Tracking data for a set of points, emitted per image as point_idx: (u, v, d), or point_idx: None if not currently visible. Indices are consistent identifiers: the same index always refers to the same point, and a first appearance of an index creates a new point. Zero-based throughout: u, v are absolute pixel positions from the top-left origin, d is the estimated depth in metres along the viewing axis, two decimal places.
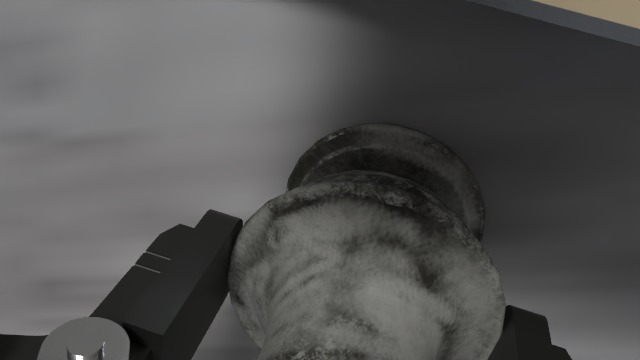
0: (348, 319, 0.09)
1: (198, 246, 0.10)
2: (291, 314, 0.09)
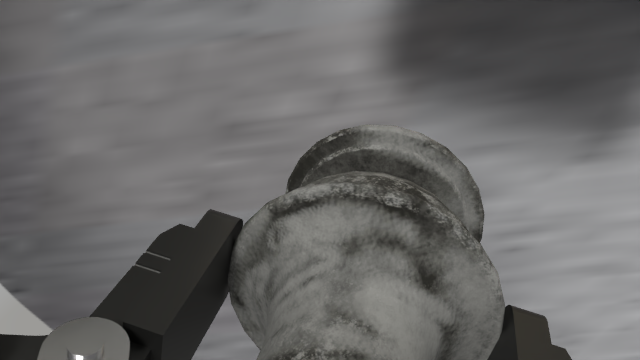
0: (347, 321, 0.09)
1: (198, 246, 0.10)
2: (291, 315, 0.09)
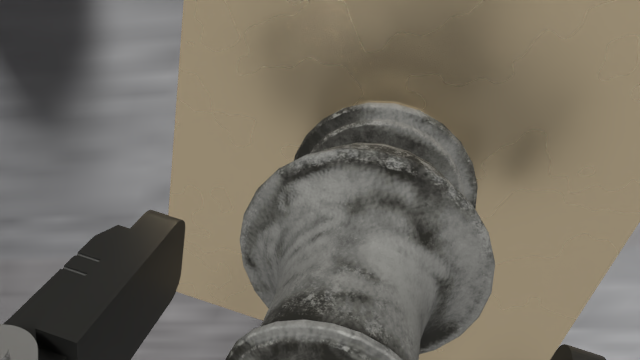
0: (353, 268, 0.10)
1: (130, 249, 0.10)
2: (301, 266, 0.10)
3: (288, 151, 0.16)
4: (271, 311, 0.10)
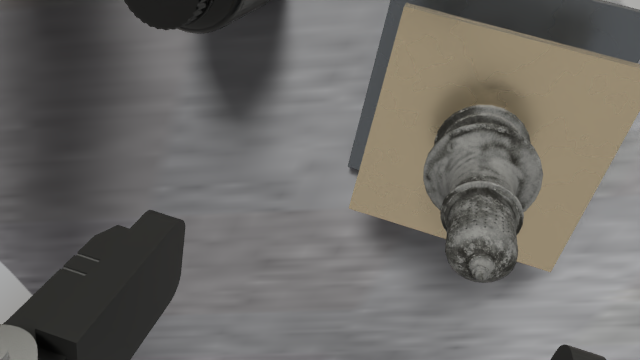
0: (488, 169, 0.25)
1: (130, 248, 0.10)
2: (465, 170, 0.26)
3: (433, 129, 0.31)
4: (456, 185, 0.25)
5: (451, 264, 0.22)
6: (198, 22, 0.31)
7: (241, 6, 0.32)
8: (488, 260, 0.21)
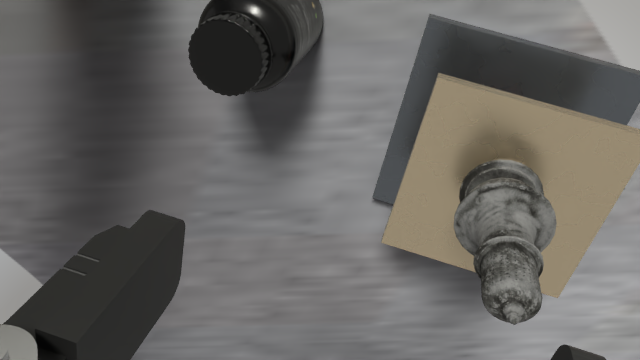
0: (512, 223, 0.30)
1: (130, 249, 0.10)
2: (492, 222, 0.31)
3: (459, 178, 0.36)
4: (486, 236, 0.30)
5: (487, 308, 0.27)
6: None
7: (290, 70, 0.36)
8: (519, 307, 0.26)
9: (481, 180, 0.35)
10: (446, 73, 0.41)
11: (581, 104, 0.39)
